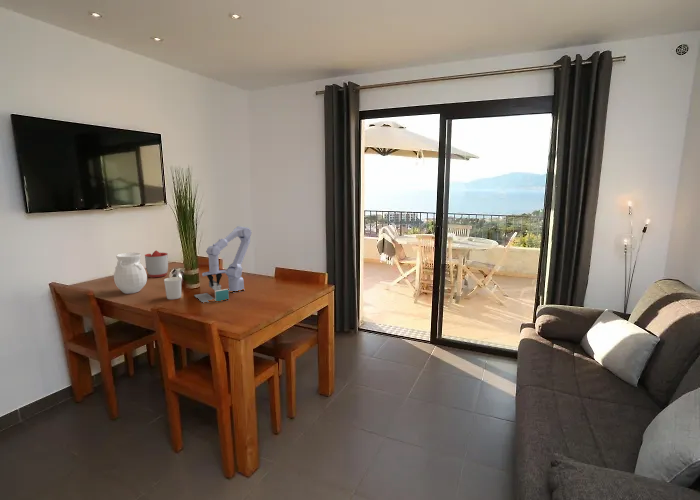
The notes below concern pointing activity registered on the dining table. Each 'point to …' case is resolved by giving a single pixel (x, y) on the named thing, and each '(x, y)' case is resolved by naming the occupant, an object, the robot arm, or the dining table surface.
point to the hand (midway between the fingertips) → (214, 285)
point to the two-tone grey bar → (215, 286)
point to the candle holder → (173, 287)
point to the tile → (221, 295)
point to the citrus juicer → (156, 264)
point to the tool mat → (204, 297)
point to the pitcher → (129, 273)
